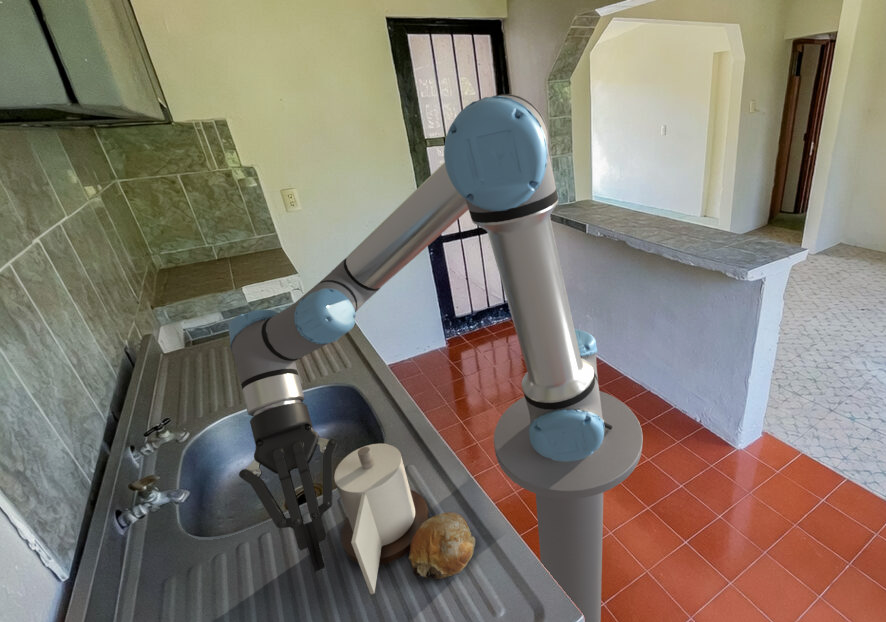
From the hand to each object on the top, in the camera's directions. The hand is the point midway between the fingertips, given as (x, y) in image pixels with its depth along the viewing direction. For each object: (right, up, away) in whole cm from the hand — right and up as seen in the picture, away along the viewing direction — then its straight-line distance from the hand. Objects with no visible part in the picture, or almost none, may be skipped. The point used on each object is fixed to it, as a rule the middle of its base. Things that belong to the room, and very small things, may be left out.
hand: (319, 569), depth 63 cm
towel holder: (+4, -1, +14) cm, 15 cm away
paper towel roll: (+4, -1, +10) cm, 11 cm away
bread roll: (+15, -3, +9) cm, 18 cm away
